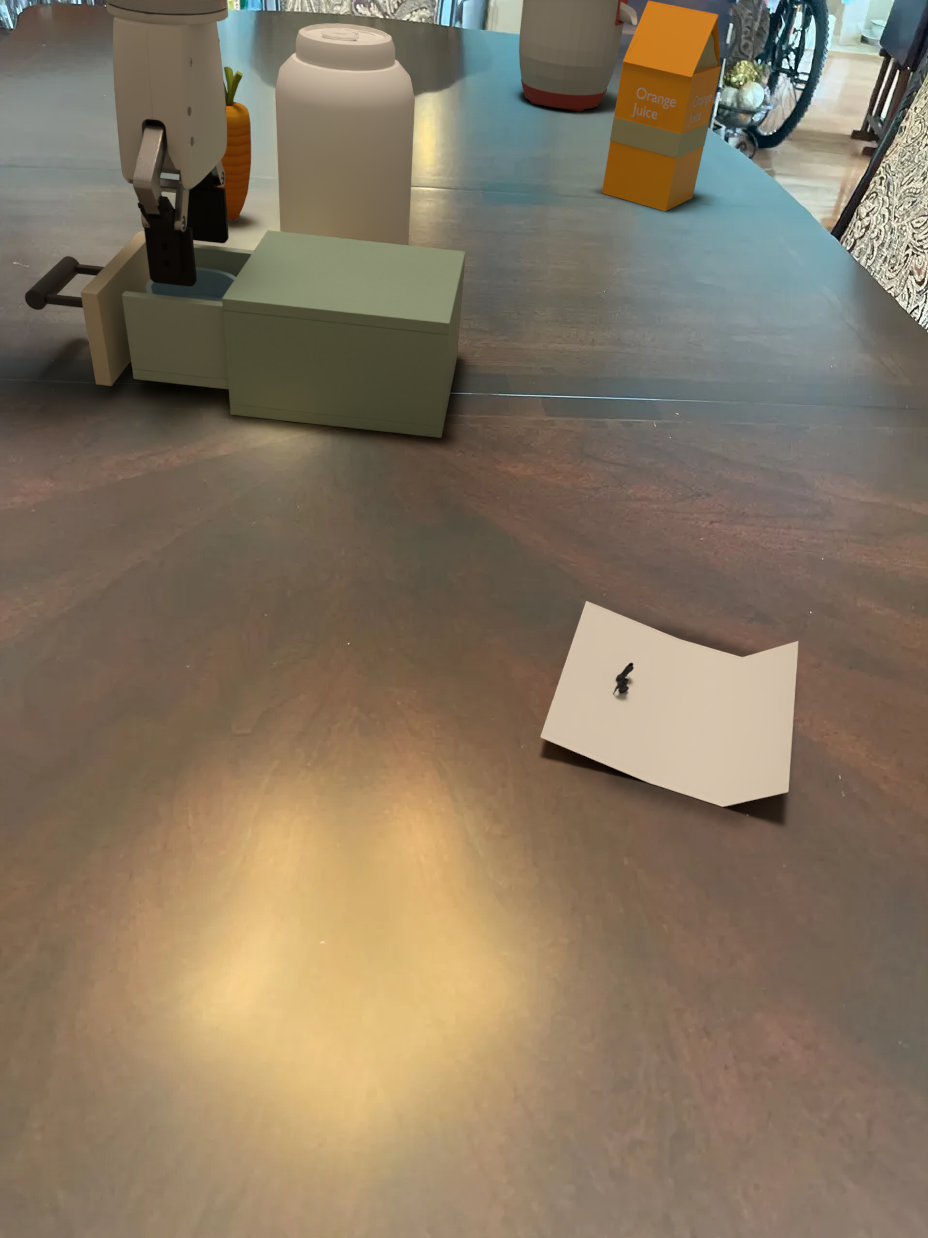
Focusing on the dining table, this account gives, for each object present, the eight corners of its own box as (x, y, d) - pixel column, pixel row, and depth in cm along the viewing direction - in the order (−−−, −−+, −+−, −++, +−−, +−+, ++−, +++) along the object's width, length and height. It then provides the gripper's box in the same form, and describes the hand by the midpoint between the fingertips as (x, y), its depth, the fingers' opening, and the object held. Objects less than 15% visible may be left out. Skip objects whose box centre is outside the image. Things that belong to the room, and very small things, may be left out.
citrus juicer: (611, 123, 149) (636, -37, 136) (498, 104, 153) (513, -55, 140) (632, 101, 161) (657, -49, 148) (527, 83, 164) (543, -65, 151)
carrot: (265, 225, 106) (257, 66, 96) (220, 232, 104) (208, 69, 94) (244, 210, 109) (235, 54, 99) (201, 216, 107) (187, 56, 97)
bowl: (140, 358, 77) (132, 301, 74) (169, 317, 82) (162, 263, 79) (233, 367, 77) (229, 311, 74) (256, 326, 82) (252, 272, 79)
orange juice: (630, 179, 129) (663, -4, 116) (693, 197, 125) (734, 11, 112) (600, 192, 123) (630, 3, 111) (665, 211, 120) (704, 18, 107)
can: (376, 293, 95) (382, 53, 82) (257, 266, 98) (245, 29, 85) (426, 251, 104) (439, 29, 91) (316, 227, 107) (313, 9, 94)
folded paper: (583, 615, 61) (588, 589, 59) (788, 666, 59) (798, 640, 57) (536, 755, 52) (541, 728, 50) (776, 821, 50) (788, 795, 48)
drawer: (22, 376, 76) (1, 283, 71) (84, 308, 85) (69, 222, 81) (290, 405, 75) (287, 314, 71) (322, 334, 85) (321, 250, 80)
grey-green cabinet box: (230, 414, 76) (221, 297, 70) (272, 336, 86) (267, 229, 80) (441, 438, 75) (449, 322, 70) (457, 356, 86) (465, 251, 80)
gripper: (150, -39, 71) (176, 216, 82) (53, 3, 58) (99, 301, 69) (257, -28, 71) (268, 226, 82) (184, 17, 57) (209, 313, 69)
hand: (191, 259), depth 75 cm, fingers open, 8 cm apart
